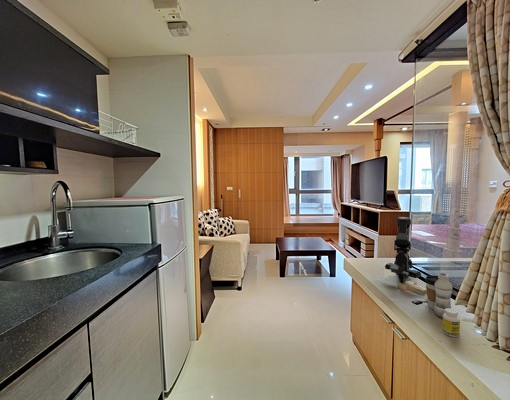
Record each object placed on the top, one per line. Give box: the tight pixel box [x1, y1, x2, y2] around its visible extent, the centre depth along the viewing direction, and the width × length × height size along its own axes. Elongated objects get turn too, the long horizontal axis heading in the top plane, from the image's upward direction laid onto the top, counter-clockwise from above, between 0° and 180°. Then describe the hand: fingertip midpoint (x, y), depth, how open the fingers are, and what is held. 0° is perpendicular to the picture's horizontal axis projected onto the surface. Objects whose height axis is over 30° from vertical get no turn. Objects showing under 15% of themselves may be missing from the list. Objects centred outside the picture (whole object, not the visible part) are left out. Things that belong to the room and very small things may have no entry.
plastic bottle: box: [433, 272, 453, 319], centre depth 107 cm, size 6×7×20 cm
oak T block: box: [396, 279, 427, 294], centre depth 134 cm, size 12×12×2 cm
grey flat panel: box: [376, 275, 428, 302], centre depth 138 cm, size 14×30×1 cm, turn 26°
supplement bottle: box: [442, 308, 461, 338], centre depth 96 cm, size 5×5×10 cm
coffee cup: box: [424, 275, 439, 310], centre depth 115 cm, size 8×8×15 cm
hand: (402, 283), depth 140 cm, fingers closed
